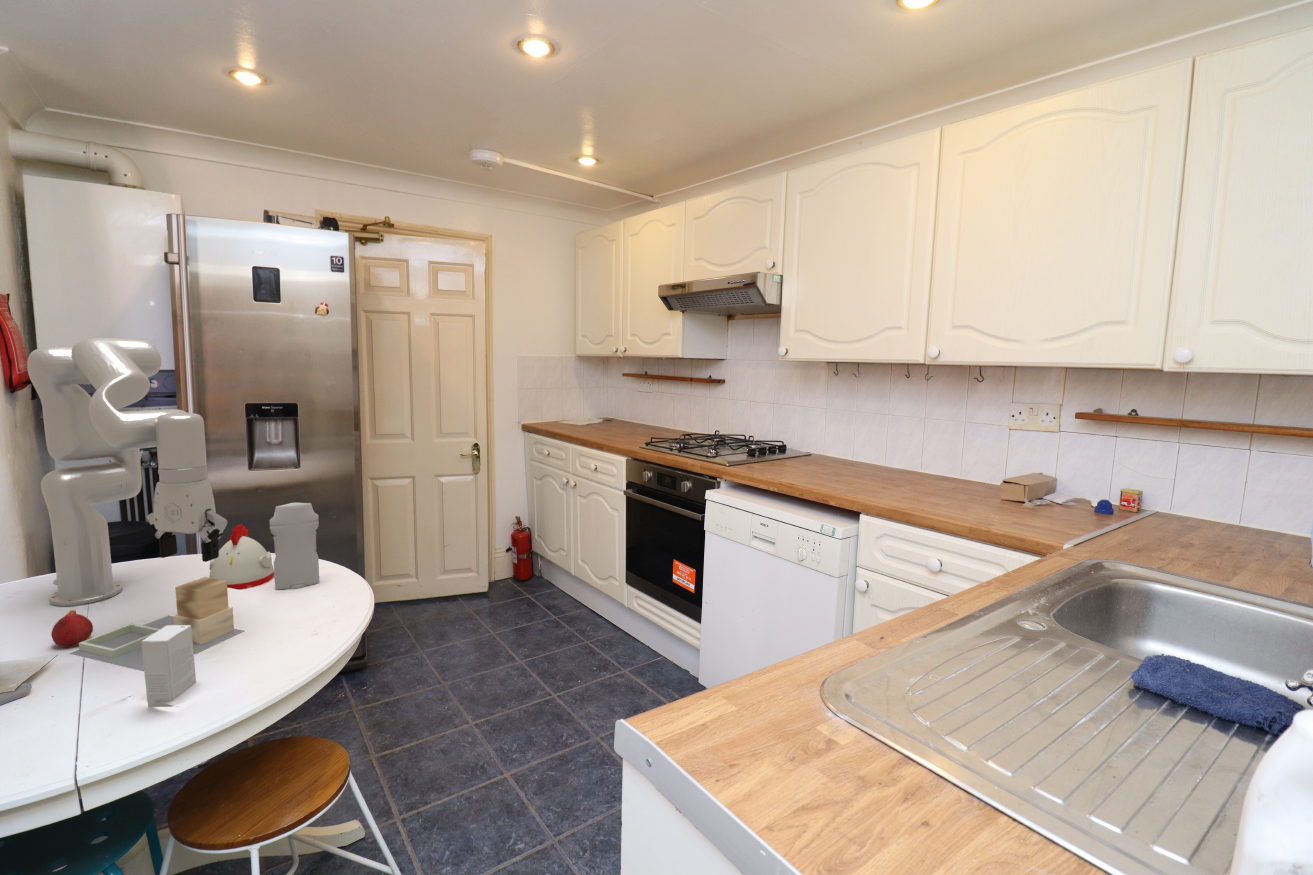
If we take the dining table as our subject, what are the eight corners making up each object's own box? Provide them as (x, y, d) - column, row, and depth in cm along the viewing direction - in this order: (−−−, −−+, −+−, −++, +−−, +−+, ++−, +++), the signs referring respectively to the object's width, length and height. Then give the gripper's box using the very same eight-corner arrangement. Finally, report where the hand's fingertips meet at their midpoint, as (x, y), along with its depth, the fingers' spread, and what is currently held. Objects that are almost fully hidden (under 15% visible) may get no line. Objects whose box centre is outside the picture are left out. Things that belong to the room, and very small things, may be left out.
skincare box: (172, 687, 105) (166, 624, 104) (197, 687, 106) (192, 624, 104) (145, 707, 99) (139, 640, 98) (172, 707, 100) (167, 640, 98)
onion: (68, 657, 114) (64, 618, 113) (45, 653, 115) (41, 614, 114) (102, 643, 120) (98, 606, 119) (79, 640, 121) (75, 603, 120)
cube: (177, 615, 120) (175, 586, 119) (207, 603, 126) (205, 576, 125) (199, 619, 118) (197, 591, 118) (228, 607, 124) (226, 580, 123)
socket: (79, 650, 115) (78, 642, 115) (132, 629, 124) (131, 623, 123) (113, 658, 112) (112, 650, 112) (164, 636, 121) (164, 629, 121)
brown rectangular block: (174, 639, 120) (172, 615, 120) (209, 624, 127) (207, 602, 126) (200, 644, 118) (198, 621, 118) (234, 629, 125) (232, 607, 124)
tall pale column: (273, 592, 148) (268, 506, 145) (272, 587, 151) (268, 503, 148) (322, 584, 154) (318, 502, 151) (320, 579, 157) (316, 498, 154)
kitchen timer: (198, 592, 146) (194, 533, 144) (224, 572, 160) (221, 518, 158) (261, 589, 150) (258, 531, 148) (282, 570, 163) (279, 517, 161)
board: (69, 659, 114) (69, 653, 114) (169, 620, 131) (168, 615, 131) (153, 679, 108) (152, 673, 108) (245, 636, 125) (245, 630, 125)
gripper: (127, 475, 115) (134, 560, 118) (205, 481, 113) (210, 567, 115) (164, 469, 123) (170, 548, 125) (238, 474, 120) (242, 555, 123)
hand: (189, 557), depth 120 cm, fingers open, 9 cm apart
